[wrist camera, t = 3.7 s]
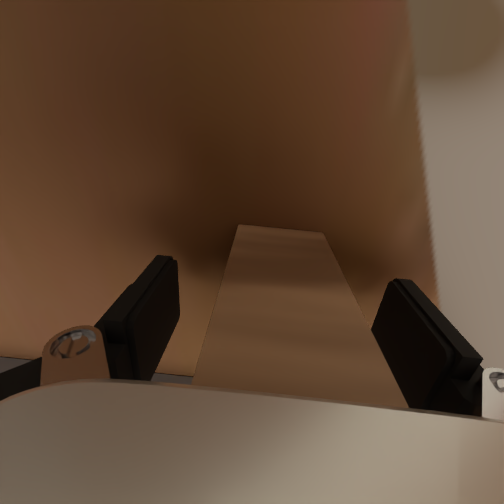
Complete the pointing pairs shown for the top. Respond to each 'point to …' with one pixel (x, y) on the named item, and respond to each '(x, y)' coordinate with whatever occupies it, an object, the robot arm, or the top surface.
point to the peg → (291, 324)
